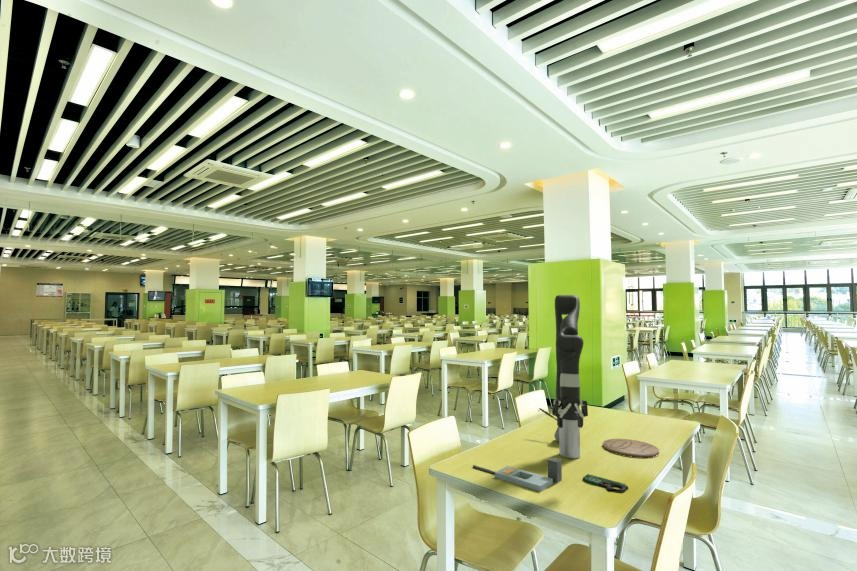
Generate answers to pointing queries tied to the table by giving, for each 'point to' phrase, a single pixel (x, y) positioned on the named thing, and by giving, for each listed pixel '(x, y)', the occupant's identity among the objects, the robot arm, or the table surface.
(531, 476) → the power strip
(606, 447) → the trivet
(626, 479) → the table surface
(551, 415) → the coffee pot
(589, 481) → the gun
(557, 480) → the block
